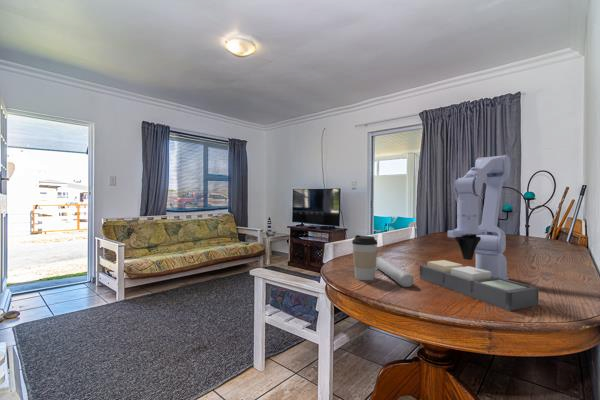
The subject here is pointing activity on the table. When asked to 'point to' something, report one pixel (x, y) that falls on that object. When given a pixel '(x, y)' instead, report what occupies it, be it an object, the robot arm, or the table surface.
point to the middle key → (471, 273)
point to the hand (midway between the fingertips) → (467, 259)
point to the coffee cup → (364, 257)
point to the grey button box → (483, 289)
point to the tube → (394, 272)
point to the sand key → (443, 265)
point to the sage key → (503, 285)
